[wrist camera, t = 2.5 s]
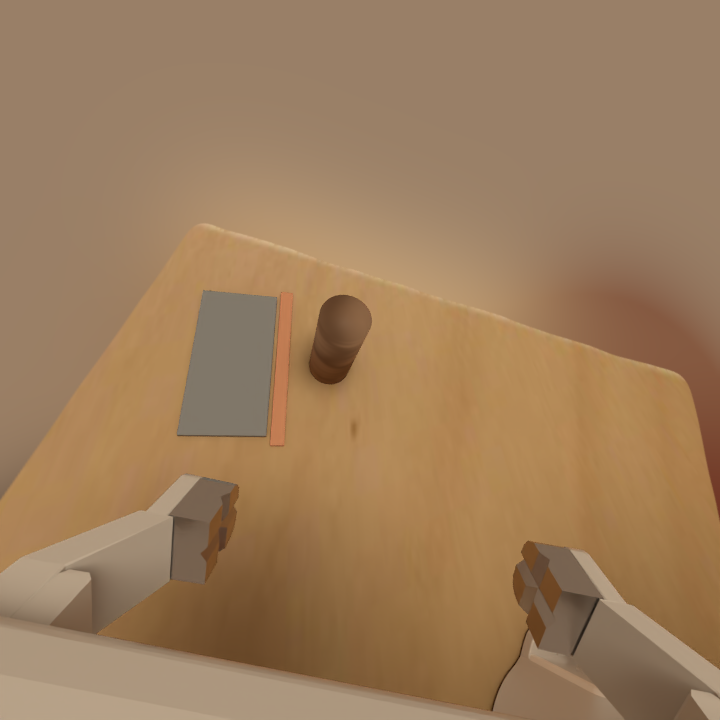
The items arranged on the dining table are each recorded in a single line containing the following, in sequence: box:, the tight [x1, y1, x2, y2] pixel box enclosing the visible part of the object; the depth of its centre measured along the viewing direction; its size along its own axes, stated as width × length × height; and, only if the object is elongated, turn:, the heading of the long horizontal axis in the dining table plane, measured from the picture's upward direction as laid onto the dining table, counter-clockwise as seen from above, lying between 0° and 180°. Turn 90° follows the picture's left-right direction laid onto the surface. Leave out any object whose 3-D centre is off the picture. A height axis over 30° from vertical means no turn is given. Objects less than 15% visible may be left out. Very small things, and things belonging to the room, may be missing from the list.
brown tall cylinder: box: [309, 295, 372, 384], centre depth 37 cm, size 5×5×12 cm
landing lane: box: [177, 290, 293, 446], centre depth 40 cm, size 11×20×1 cm, turn 1°
